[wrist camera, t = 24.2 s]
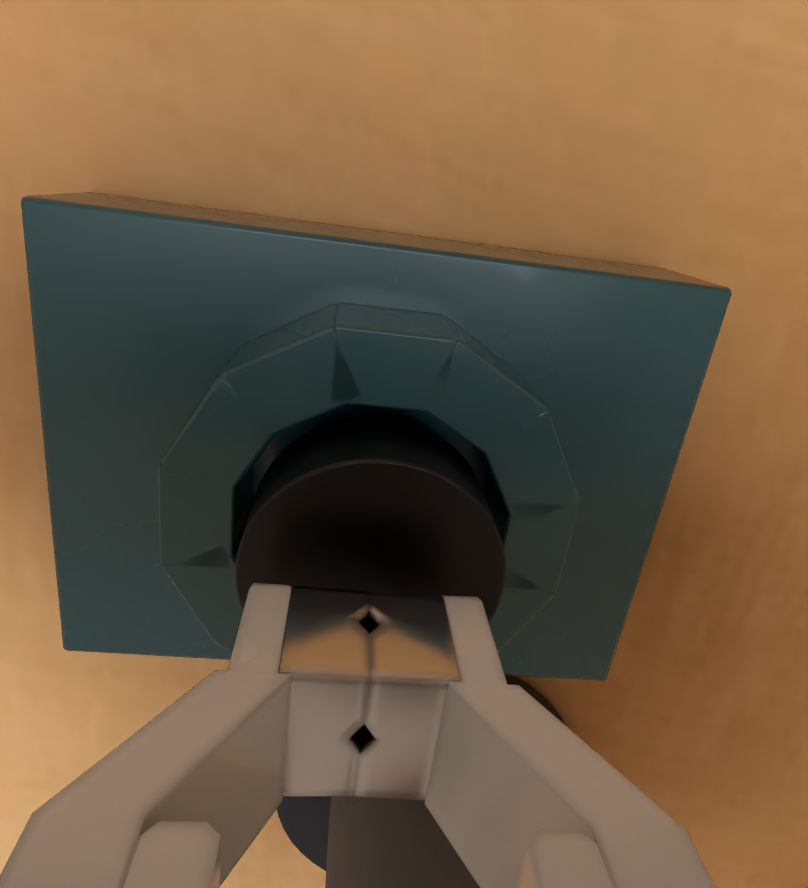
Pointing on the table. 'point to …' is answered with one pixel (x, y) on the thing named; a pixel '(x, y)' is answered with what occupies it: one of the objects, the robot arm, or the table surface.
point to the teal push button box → (346, 406)
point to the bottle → (390, 846)
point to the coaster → (311, 813)
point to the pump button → (373, 516)
